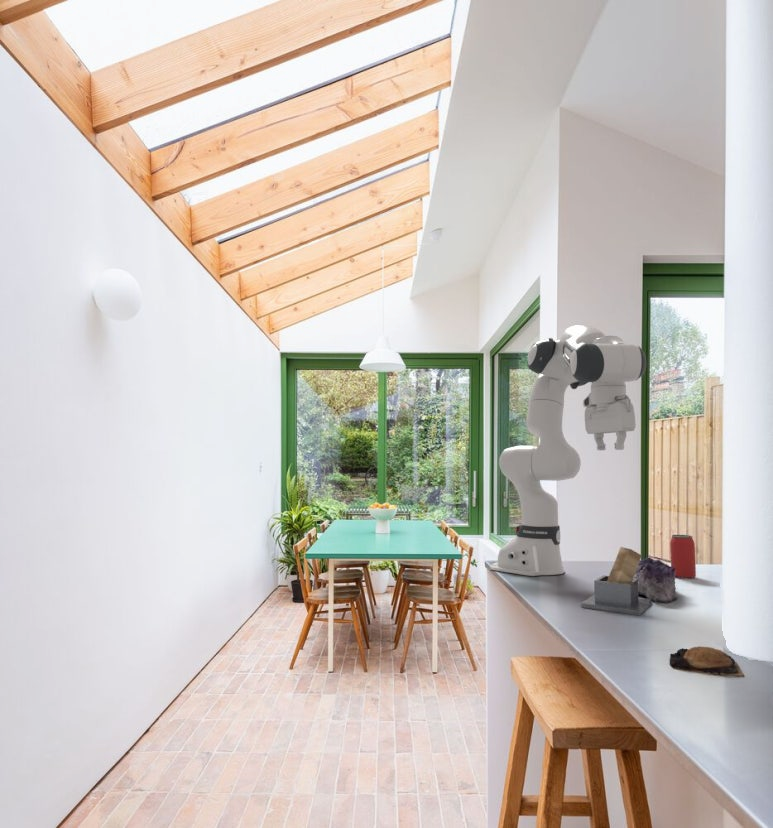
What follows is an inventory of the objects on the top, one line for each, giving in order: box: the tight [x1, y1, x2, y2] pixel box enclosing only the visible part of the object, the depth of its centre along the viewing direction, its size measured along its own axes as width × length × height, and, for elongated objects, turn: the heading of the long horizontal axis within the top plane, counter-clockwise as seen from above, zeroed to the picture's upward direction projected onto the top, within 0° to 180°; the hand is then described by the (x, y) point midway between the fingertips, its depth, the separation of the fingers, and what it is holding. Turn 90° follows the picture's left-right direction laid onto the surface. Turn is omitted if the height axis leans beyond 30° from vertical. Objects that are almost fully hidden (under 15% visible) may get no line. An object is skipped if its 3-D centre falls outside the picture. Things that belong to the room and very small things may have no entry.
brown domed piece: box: [669, 646, 745, 678], centre depth 102 cm, size 11×9×4 cm
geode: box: [633, 557, 678, 604], centre depth 155 cm, size 20×12×10 cm, turn 169°
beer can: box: [669, 534, 697, 580], centre depth 178 cm, size 7×7×12 cm
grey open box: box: [581, 575, 653, 616], centre depth 143 cm, size 13×13×6 cm
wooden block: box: [607, 546, 643, 584], centre depth 144 cm, size 4×4×12 cm
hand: (610, 450), depth 160 cm, fingers open, 8 cm apart
